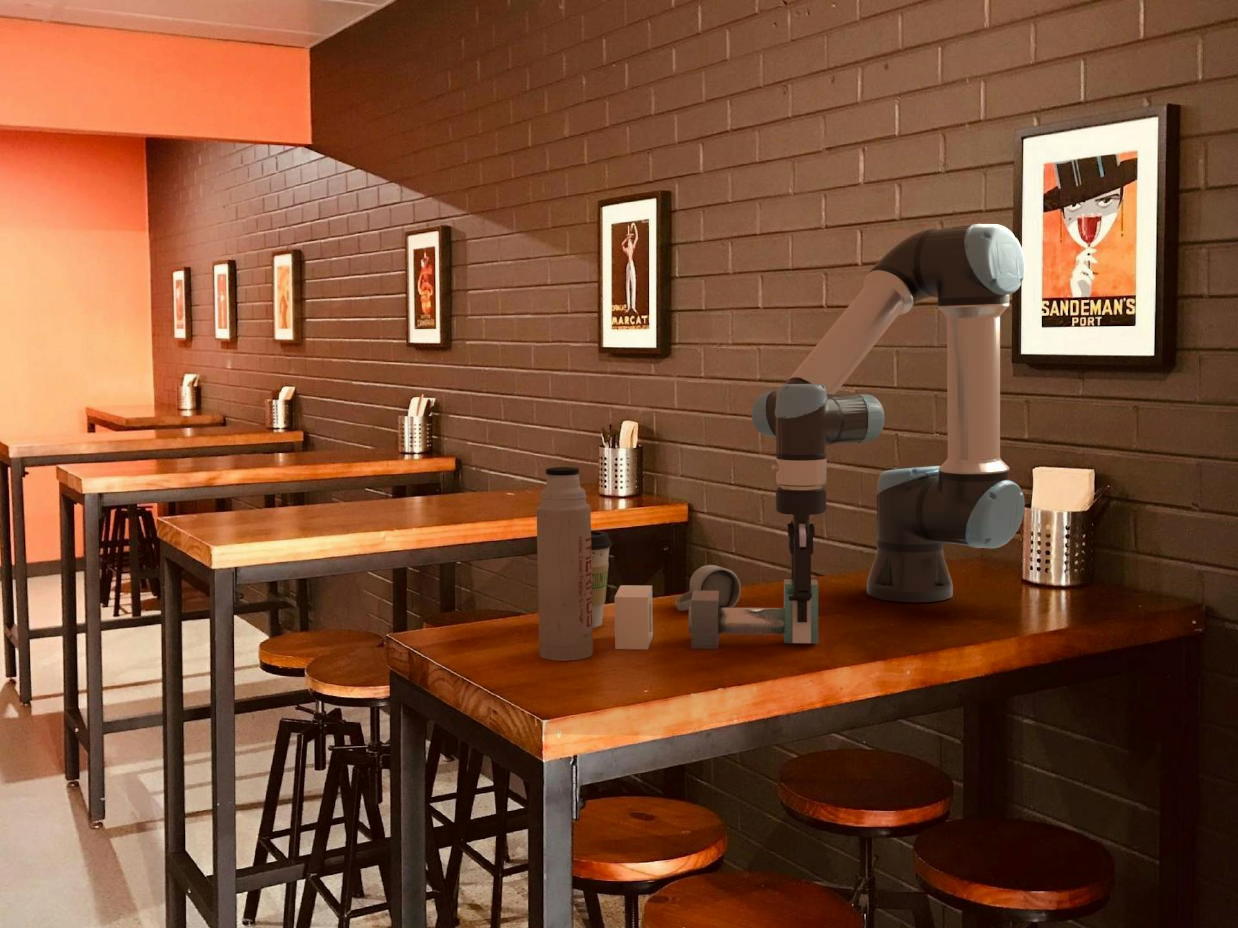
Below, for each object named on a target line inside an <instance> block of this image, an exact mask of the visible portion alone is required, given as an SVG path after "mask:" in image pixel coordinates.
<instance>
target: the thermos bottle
mask: <svg viewBox="0 0 1238 928" xmlns="http://www.w3.org/2000/svg"><path fill="white" fill-rule="evenodd" d="M545 474H546V475H547V477H546V487H545V488H544V489H542V490H541V491H540V495H539V497H540V501H541V502H540V504H539V505H537V506H536V542H537V543H536V544H537V545H536V548H537V549H536V550H537V552H536V553H537V589H538V593H537V594H538V637H539V638H538V640H539V641H538V643H539V645H538V646H539V647H538V648H539V652H538V653H539V656H540V658H542V659H546V660H551V661H558V662H567V661H570V662H571V661H579V660H583V659H587V658H590V657H592V656H593V654H594V650H593V649H594V644H593V643H594V641H593V639H594V637H593V634H594V633H593V629H594V628H593V626H592V562H591V530H592V517H591V516H592V513H591V512H592V509H591V508H592V507H591V505H590V504H588V503H587V501H586V500H587V497H588V496H587V495H586V490H585V489H584V488H583V487H581V484H580V479H581V478H580V477H579V474H580V469H579V467H574V466H573V467H570V466H557V467H549V468H545Z"/></svg>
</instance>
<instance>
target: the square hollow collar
mask: <svg viewBox="0 0 1238 928" xmlns="http://www.w3.org/2000/svg"><path fill="white" fill-rule="evenodd" d="M718 608H719V591H693V594H692V599H691V634H690V635H691V650H692V649H693V650H697V649H699V650H702V649H703V650H719V642H720V634H718Z"/></svg>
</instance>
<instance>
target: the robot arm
mask: <svg viewBox="0 0 1238 928" xmlns="http://www.w3.org/2000/svg"><path fill="white" fill-rule="evenodd" d="M1024 255H1025V254H1024V251H1023V249H1022V246H1021V244H1020V242H1019V240H1018V238H1017V237H1015V235H1014V233H1013V232H1012V231H1011V230H1010V229H1009V228H1007V227H1006V226H1004V225H1001V224H997V223H995V224H993V223H991V224H990V223H983V224H982V223H977V224H976V223H975V224H970V225H968V224H967V225H960V226H952V227H943V228H942V227H941V228H940V227H939V228H927V229H923V230H920V231H918V232H915V233H913V234H912V235H910V236H908V237H907V238H905V239H904V240H902V241H900V242H899V243H898V244H897V245H895V246H893V247H892V248H891V249H890V250H888V251H887V252H886V254H885V255H884V256H883V257H882V258H881V259H879V261H877V262H876V264H875V265H874V266H873V267H872V268H871V269H870V271H869V272H868V273H867V274H866V275H865V277H864V279H863V282H862V283H863V284H862V285H863V288H862V290H861V291H859V293H858V294H857V295H856V296H855V298H854V299H852V302H851V303H849V305H848V306H847V308H846V309H845V310H844V311H843V312H842V314H841V315H840V316H839V317H838V319H836V321H835V323H833V325H832V326H831V327H830V328H829V329H828V331H826V333H825V334H824V335H823V337H822V338H821V339H820V341H819V342H818V343H817V344H816V345H815V347H814V348H813V349H812V350H811V351H810V353H808V355H807V356H806V357H805V359H803V361H802V362H801V363H800V365H799V366H798V367H797V368H796V369H795V370H794V372H793V373H792V374H791V376H790V377H789V378H788V379H787V381H786V382H785V383H784V384H782V385H780V386H779V387H778V388H777V391H776V390H772V391H768V392H763V393H761V394H760V395H759V396H757V397H756V399H755V400H754V403H753V405H752V409H751V420H752V425H753V426H754V428H755V429H756V431H757V432H758V433H759V434H760V435H762V436H765V437H767V438H773V439H775V457H776V460H775V461H776V463H777V464H772V466H771V470H772V472H776V474H775V475H776V477H775V478H776V479H775V480H776V485H778V486H779V487H777V489H776V490H775V509H776V512H777V513H779V514H782V515H792V520H791V521H790V523H787V527H786V528H787V536H788V549H789V553H790V556H791V557H790V560H791V561H790V565H791V566H790V567H791V568H790V569H791V571H790V578H789V579H794V593H793V596H789V601H793V638H792V642H793V643H792V644H812V643H811V597H812V593H811V580H812V555H813V553H814V537H815V533H816V532H815V525H814V523H810V515H816V516H817V515H821V514H824V513H825V512H826V510H827V489H825V487H823V486H824V485H826V484H827V475H828V474H827V473H828V472H827V469H828V468H827V467H828V465H827V446H830V445H839V444H840V445H841V444H863V442H870V441H873V440H875V439H876V438H877V437H878V436H879V435H880V434H881V433H882V431H883V428H884V426H885V411H884V408H883V405H882V403H881V402H880V400H879V399H877V398H876V396H873V395H871V394H867V393H866V394H865V393H864V394H863V393H862V394H861V393H853V394H836V393H837V392H838V391H839V390H840V388H841V387H842V386H843V385H844V384H845V382H846V381H847V379H848V378H849V377H850V376H851V375H852V374H853V373H854V371H855V369H857V368H858V366H859V365H860V364H861V363H862V361H863V360H864V359H865V358H866V357H867V355H868V353H869V352H870V351H871V349H872V348H873V347H874V346H875V344H877V342H878V341H879V340H880V338H881V337H883V335H884V333H886V331H887V330H888V329H889V327H890V326H891V324H892V323H894V321H895V319H896V318H898V316H901V315H905V314H907V313H908V312H910V311H911V310H912V308H913V307H914V306H915V305H916V304H918V303H919V302H920V301H922V300H925V299H929V298H937V309H938V310H939V311H940V312H941V313H942V314H943V315H944V316H945V317H946V329H947V331H946V345H947V347H946V354H947V355H946V359H947V360H946V361H947V362H946V368H947V369H946V370H947V371H946V373H947V377H946V378H947V379H946V380H947V381H946V382H947V384H946V385H947V387H946V388H947V390H946V392H947V397H946V398H947V401H946V402H947V404H946V405H947V458H946V460H945V461H944V462H943V463H942V464H941V465H933V466H932V465H931V466H920V467H919V466H918V467H909V468H908V467H907V468H898V469H890V470H889V469H888V470H884V471H882V472H881V473H880V474H879V476H878V479H877V488H876V489H877V490H876V493H875V495H876V553H875V555H874V559H873V562H872V566H871V568H870V571H869V573H868V574H869V575H868V577H867V580H866V594H867V595H868V596H870V597H872V598H875V599H878V600H885V601H889V602H890V601H891V602H898V603H899V602H900V603H932V602H940V601H945V600H948V599H951V598H952V597H953V596H954V594H953V593H954V591H953V589H954V587H953V586H954V585H953V580H952V577H951V574H950V572H949V568H948V565H947V562H946V558H945V555H944V543H947V544H954V545H962V546H966V547H970V548H973V549H981V548H983V549H998V548H1000V547H1003V546H1005V545H1006V544H1008V543H1009V542H1010V541H1011V540H1012V539H1013V538H1014V536H1015V534H1016V533H1017V532H1018V531H1019V528H1020V527H1021V524H1022V521H1023V518H1024V513H1025V504H1026V503H1025V496H1024V495H1025V494H1024V493H1023V491H1021V490H1022V489H1021V487H1020V486H1019V485H1018V484H1017V483H1015V482H1014V481H1011V480H1010V467H1009V465H1007V464H1006V463H1005V462H1004V461H1003V460H1002V459H1001V316H1002V315H1003V313H1004V312H1005V311H1006V310H1007V309H1008V308H1009V307H1010V295H1012V294H1013V293H1015V292H1016V291H1018V290H1019V289H1020V286H1021V285H1022V282H1023V280H1024V277H1025V274H1026V273H1025V271H1026V261H1025V256H1024ZM799 590H806V591H799Z"/></svg>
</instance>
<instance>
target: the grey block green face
mask: <svg viewBox="0 0 1238 928" xmlns="http://www.w3.org/2000/svg"><path fill="white" fill-rule="evenodd" d="M799 591H806V590H799ZM793 593H794V579H790V578H789V579H786V578H784V579H783V607H733V608H718V634H719V635H783V641H784V644H794V643H793V642H792V638H793V601H789V596H793ZM811 593H812V597H811V643H810V644H819V582H818V580H817V579H811ZM688 634H690V635H691V607H689V610H688Z"/></svg>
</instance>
